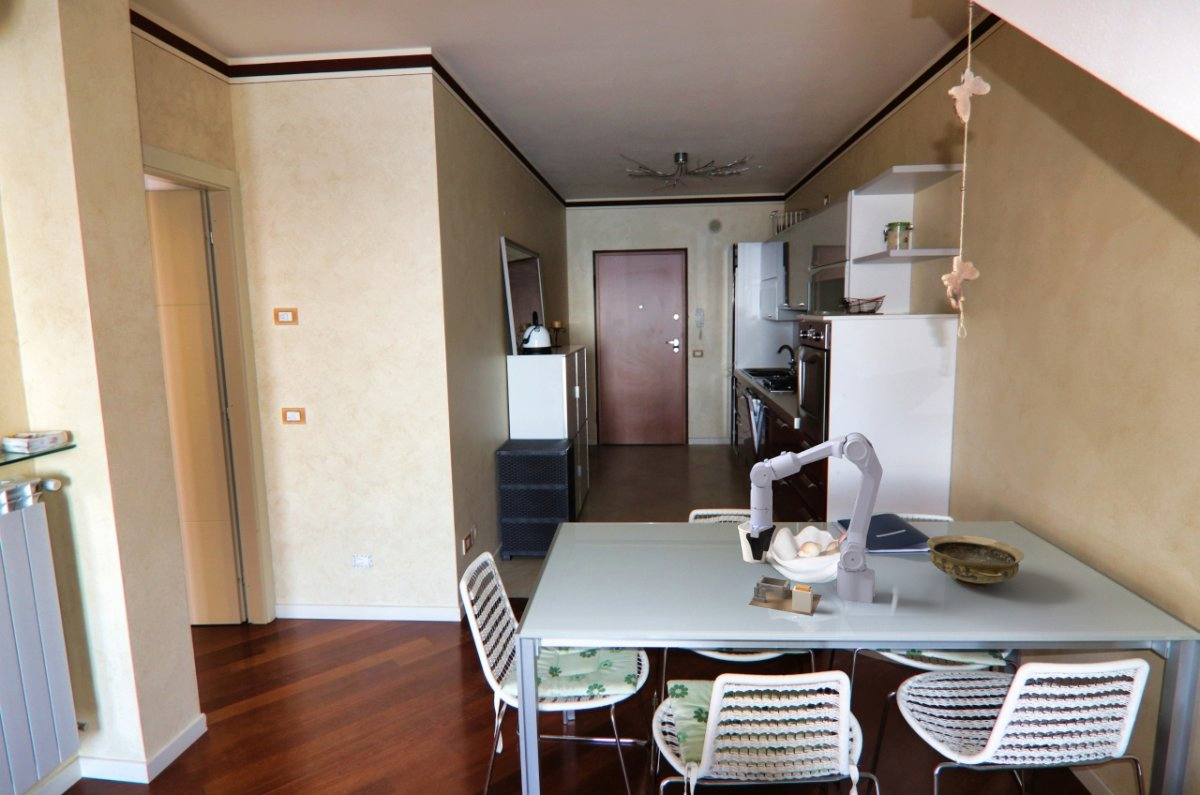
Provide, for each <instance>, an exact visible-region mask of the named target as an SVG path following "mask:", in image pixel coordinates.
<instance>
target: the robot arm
mask: <svg viewBox="0 0 1200 795" xmlns="http://www.w3.org/2000/svg"><path fill="white" fill-rule="evenodd" d="M843 455H844V457H845V458H846V460H848V461H849V462H851V463H852V464H854V465H855V466H856V467H857V469H858V470H859V471H860V472H861V477H860V482H859V484H858V489H857V492H856V498H855V502H854V506H853V509H852V513H851V517H850V521H849V525H848V528H847V530H846V534H845V537H843V539H842V540H841V541H840V543H839V548H838V549H839V554H840V555H839V561H838V562H837V569H836V570H837V573H836V595H837V597H838V598H840V599H841V600H844V601H849V602H861V603H866V604H873V601H874V599H875V597H876V591H875V589H876V588H875V584H876V582H875V581H876V570H875V569H872V568H868V567H867V564H866V563H867V559H866V558H867V557H866V554H865V551H866V546H867V536H868V532H869V528H870V523H871V519H872V515H873V513H874V508H875V504H876V500H877V497H878V496H877V495H878V493H879V490H880V489H879V488H880V485H881V480H882V477H883V467H882V464H881V462H880V460H879V457H878V456H877V453H876V451H875V448H874V446H873V443H872V442H871V441H870V440H869V439H868V438H867V437H866V436H865V435H864V434H863V433H861V432H854V431H853V432H850V433H848V434H847V435H838V436H837V437H834V438H832V439H829V440H826V441H824V442H823V443H820V444H818V445H814V446H813V447H810V448H809V449H808V448H807V449H806V450H804V451H801V452H799V453H795V452H793V451H789V452H787V451H786V450H785V451H781V453H780V455H778V456H775V457H773V458H770V459H768V458H765V459H764V460H763V461H760V462H757V463H755V464H754V465H753V466H752V468H751V471H750V473H749V477H750V478H749V479H750V481H751V484H750V487H751V489H750V519H749V520H746V522H745V523H746V524H748V525H750V527H751V533H747V534H746V539H747V540H748V542H749V544H750V547H751V551H752V556H753V559H754V560H760V561H761V560H762V556H763V551H766V553H767V552H769V550H770V546H771V541H772V537H773V535H774V532H775V530H776V528H777V525H776V524H774V522H773V488H772V486H773V485H772V484H773V482H772V481H779V480H781V479H783V478H785V477H788V476H791V475H794V474H796V473H799V472H800V471H801V468H802V466H804V465H806V464H807V465H808V464H810V463H813V462H817V461H820V460H822V459H825V458H828V457H833V458H837V459H843Z"/></svg>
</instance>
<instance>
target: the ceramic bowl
mask: <svg viewBox="0 0 1200 795" xmlns="http://www.w3.org/2000/svg"><path fill="white" fill-rule="evenodd" d="M926 546H927V547H928V548H929V549H930V553H929V554H930V556H929V558H930V561H931V562H932V564H933V565H934V566H935V568H937V569H938V570H939V571H941V572H943V573H944V574H946V575H948V576H950V577H953V578H954V579H955V582H956V583H958V584H961V585H963V586H965V587H971V588H985V587H988V586H989V584H996V583H1001V582H1006V581H1009V580H1011V579H1013V578H1014V577H1015V576H1016V575H1017V574H1018V572H1019V563H1020V562H1021V561H1023V560H1024V558H1025V554H1024V552H1023V551H1022V550H1020V549H1019V548H1017V547H1015V546H1013V545H1010V544H1009V543H1005V542H1003V541H999V540H995V539H992V538H988V537H983V536H974V535H960V534H959V535H957V534H955V535H953V534H945V535H937V536H933V537H930V538H928V540H927V541H926Z"/></svg>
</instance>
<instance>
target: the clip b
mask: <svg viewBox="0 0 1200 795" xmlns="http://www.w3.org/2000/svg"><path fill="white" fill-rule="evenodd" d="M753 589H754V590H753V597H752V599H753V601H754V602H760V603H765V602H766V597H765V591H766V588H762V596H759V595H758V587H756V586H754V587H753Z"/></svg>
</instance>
